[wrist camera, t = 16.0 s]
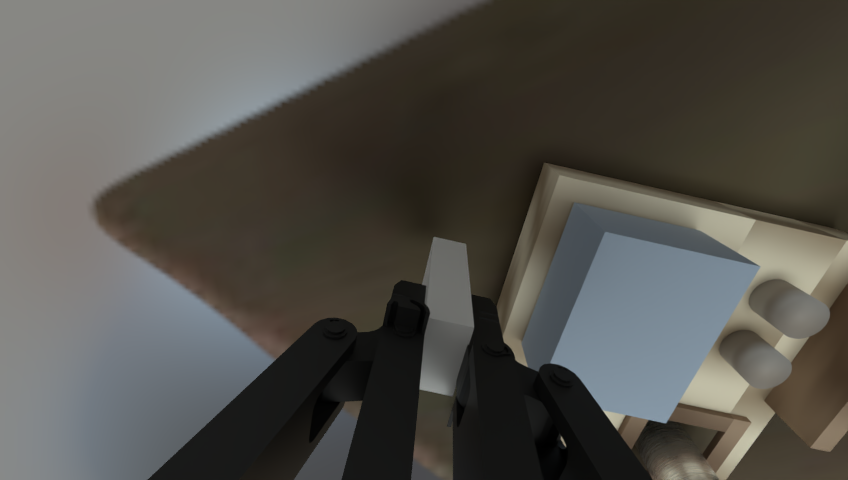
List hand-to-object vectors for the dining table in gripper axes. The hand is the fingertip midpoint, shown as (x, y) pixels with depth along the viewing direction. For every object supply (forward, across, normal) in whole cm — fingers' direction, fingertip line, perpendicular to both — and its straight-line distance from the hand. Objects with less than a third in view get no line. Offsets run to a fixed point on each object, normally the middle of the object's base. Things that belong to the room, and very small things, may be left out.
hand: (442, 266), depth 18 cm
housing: (+1, +8, 0) cm, 8 cm away
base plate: (+5, +12, -4) cm, 14 cm away
